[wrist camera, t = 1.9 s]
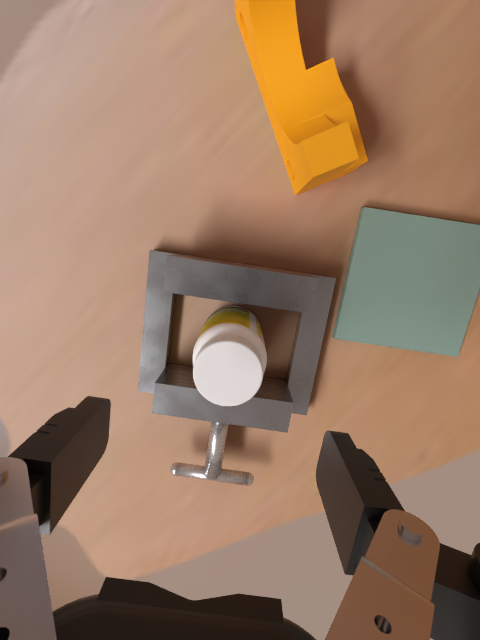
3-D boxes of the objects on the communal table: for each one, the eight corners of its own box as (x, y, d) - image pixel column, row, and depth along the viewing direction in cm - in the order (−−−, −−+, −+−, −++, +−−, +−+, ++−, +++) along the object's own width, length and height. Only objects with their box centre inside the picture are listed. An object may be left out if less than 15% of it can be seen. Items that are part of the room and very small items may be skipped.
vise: (332, 277, 25) (348, 282, 21) (290, 473, 29) (297, 509, 25) (153, 249, 25) (136, 250, 21) (136, 452, 29) (119, 484, 25)
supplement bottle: (191, 334, 26) (167, 374, 18) (231, 292, 25) (224, 315, 17) (234, 372, 27) (229, 428, 19) (274, 333, 26) (287, 373, 18)
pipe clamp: (351, 172, 23) (390, 145, 17) (295, 195, 24) (312, 177, 17) (297, -13, 21) (320, -124, 15) (235, 16, 21) (231, -79, 15)
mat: (493, 228, 24) (499, 228, 23) (453, 354, 26) (457, 356, 26) (361, 207, 24) (364, 206, 23) (332, 336, 26) (334, 338, 25)
